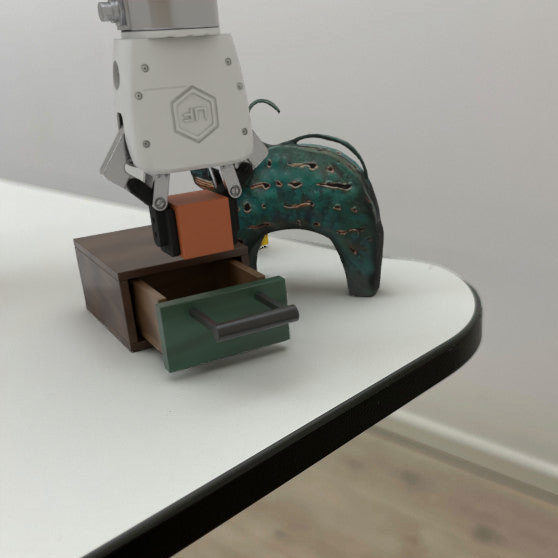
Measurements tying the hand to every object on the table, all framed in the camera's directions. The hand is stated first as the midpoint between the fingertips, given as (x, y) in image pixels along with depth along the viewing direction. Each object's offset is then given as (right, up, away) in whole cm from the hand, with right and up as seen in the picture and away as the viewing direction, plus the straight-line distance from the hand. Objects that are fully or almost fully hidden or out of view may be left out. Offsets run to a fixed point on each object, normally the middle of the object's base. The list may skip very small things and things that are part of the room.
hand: (199, 245), depth 66 cm
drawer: (+1, -8, +3) cm, 9 cm away
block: (0, 0, 0) cm, 0 cm away
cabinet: (-6, -5, +13) cm, 15 cm away
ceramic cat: (+7, -2, +19) cm, 20 cm away
